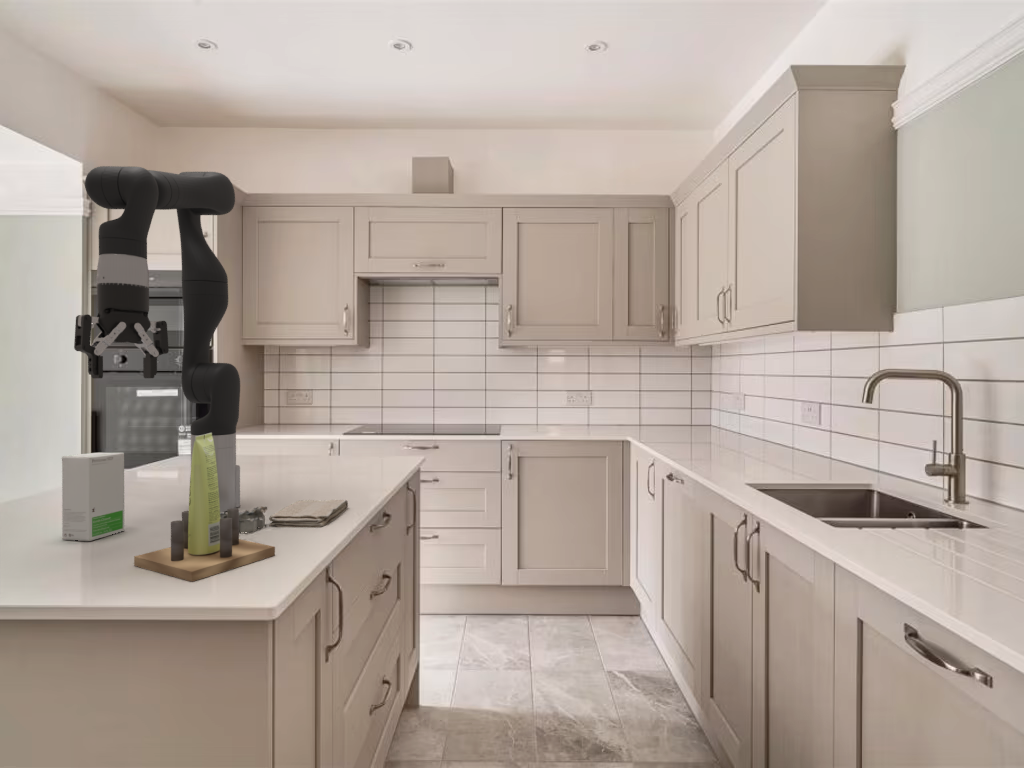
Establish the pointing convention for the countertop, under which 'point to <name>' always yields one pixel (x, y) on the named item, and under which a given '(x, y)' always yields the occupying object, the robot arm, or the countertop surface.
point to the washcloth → (309, 513)
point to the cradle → (201, 566)
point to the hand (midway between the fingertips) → (124, 378)
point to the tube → (204, 499)
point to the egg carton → (250, 519)
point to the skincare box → (92, 495)
